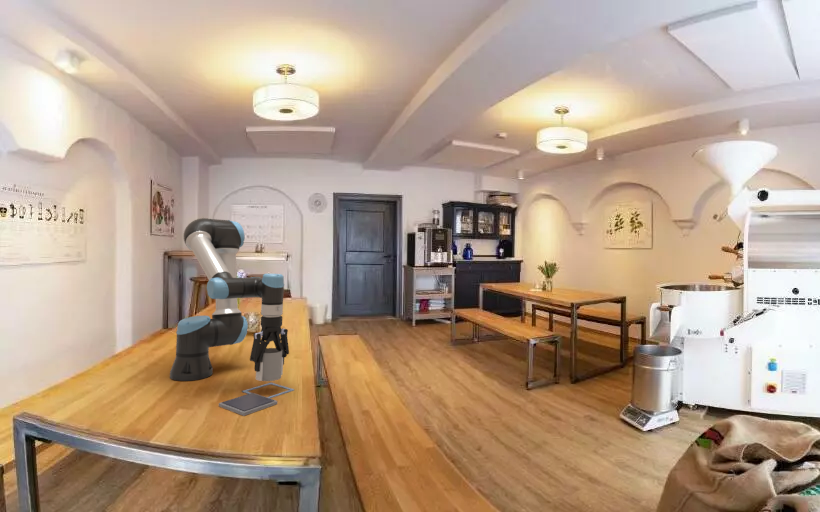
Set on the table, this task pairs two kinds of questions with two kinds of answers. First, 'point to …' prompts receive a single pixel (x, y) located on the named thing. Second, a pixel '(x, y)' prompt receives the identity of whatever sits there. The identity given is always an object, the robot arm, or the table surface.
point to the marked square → (271, 384)
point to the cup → (272, 364)
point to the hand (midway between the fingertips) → (269, 377)
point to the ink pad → (247, 404)
